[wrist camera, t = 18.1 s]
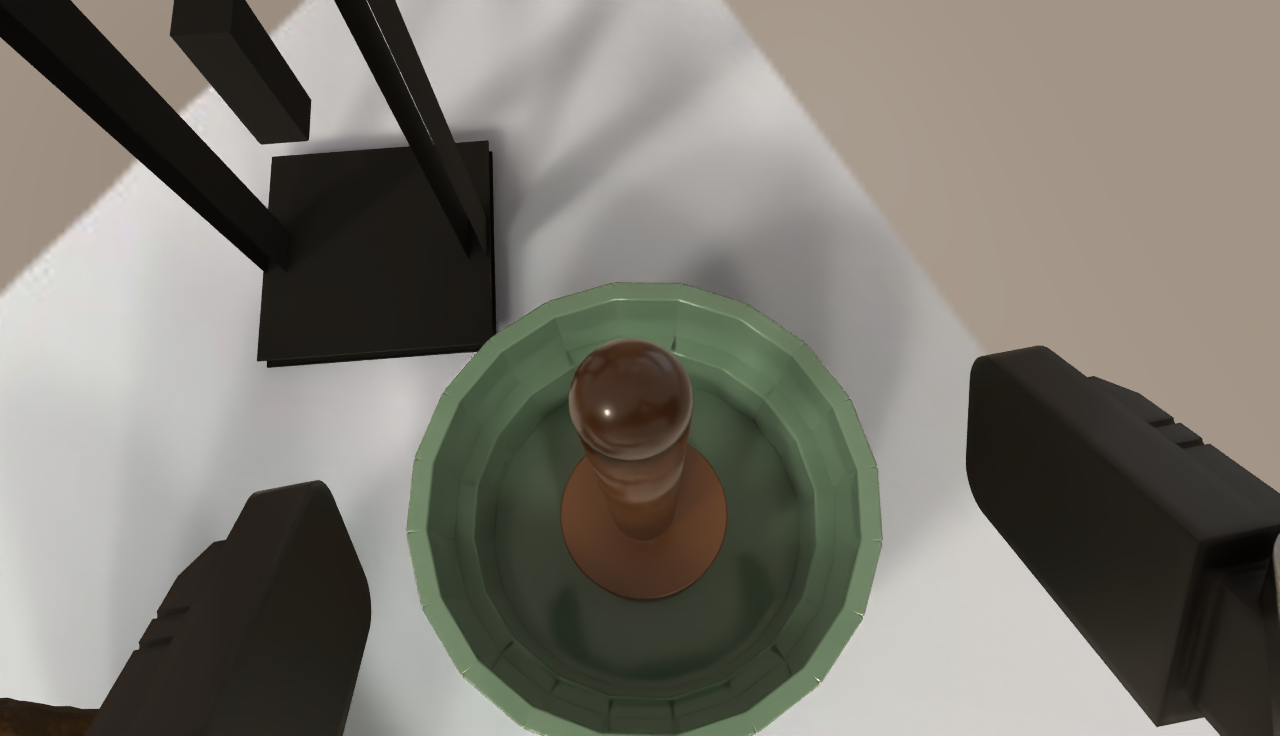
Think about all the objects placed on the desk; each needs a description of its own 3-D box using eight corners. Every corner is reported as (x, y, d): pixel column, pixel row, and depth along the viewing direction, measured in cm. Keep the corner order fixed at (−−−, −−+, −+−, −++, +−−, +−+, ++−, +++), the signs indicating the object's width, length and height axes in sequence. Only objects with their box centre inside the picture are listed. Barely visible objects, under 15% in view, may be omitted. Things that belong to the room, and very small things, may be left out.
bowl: (818, 358, 26) (865, 284, 20) (837, 728, 22) (898, 765, 17) (481, 353, 26) (432, 279, 20) (450, 718, 23) (381, 752, 17)
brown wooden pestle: (718, 453, 24) (808, 217, 10) (719, 603, 23) (824, 578, 9) (575, 451, 24) (460, 214, 10) (567, 600, 23) (424, 570, 9)
